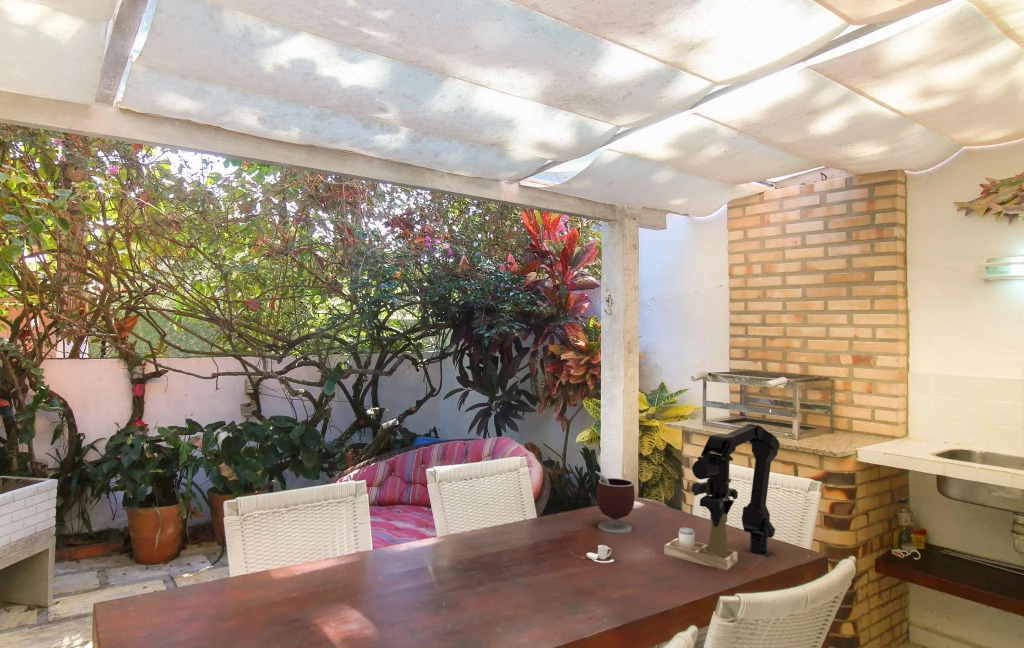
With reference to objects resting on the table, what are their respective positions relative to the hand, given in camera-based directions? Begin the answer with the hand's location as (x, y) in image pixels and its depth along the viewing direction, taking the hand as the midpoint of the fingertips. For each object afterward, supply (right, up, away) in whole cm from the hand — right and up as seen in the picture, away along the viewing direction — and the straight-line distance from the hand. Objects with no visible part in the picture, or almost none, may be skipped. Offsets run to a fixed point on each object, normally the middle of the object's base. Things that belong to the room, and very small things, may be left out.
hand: (718, 524), depth 203 cm
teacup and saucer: (-38, -12, +5) cm, 41 cm away
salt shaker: (-9, -12, +7) cm, 16 cm away
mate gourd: (-28, -13, +36) cm, 47 cm away
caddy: (-5, -13, +4) cm, 14 cm away
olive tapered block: (0, -7, 0) cm, 7 cm away
